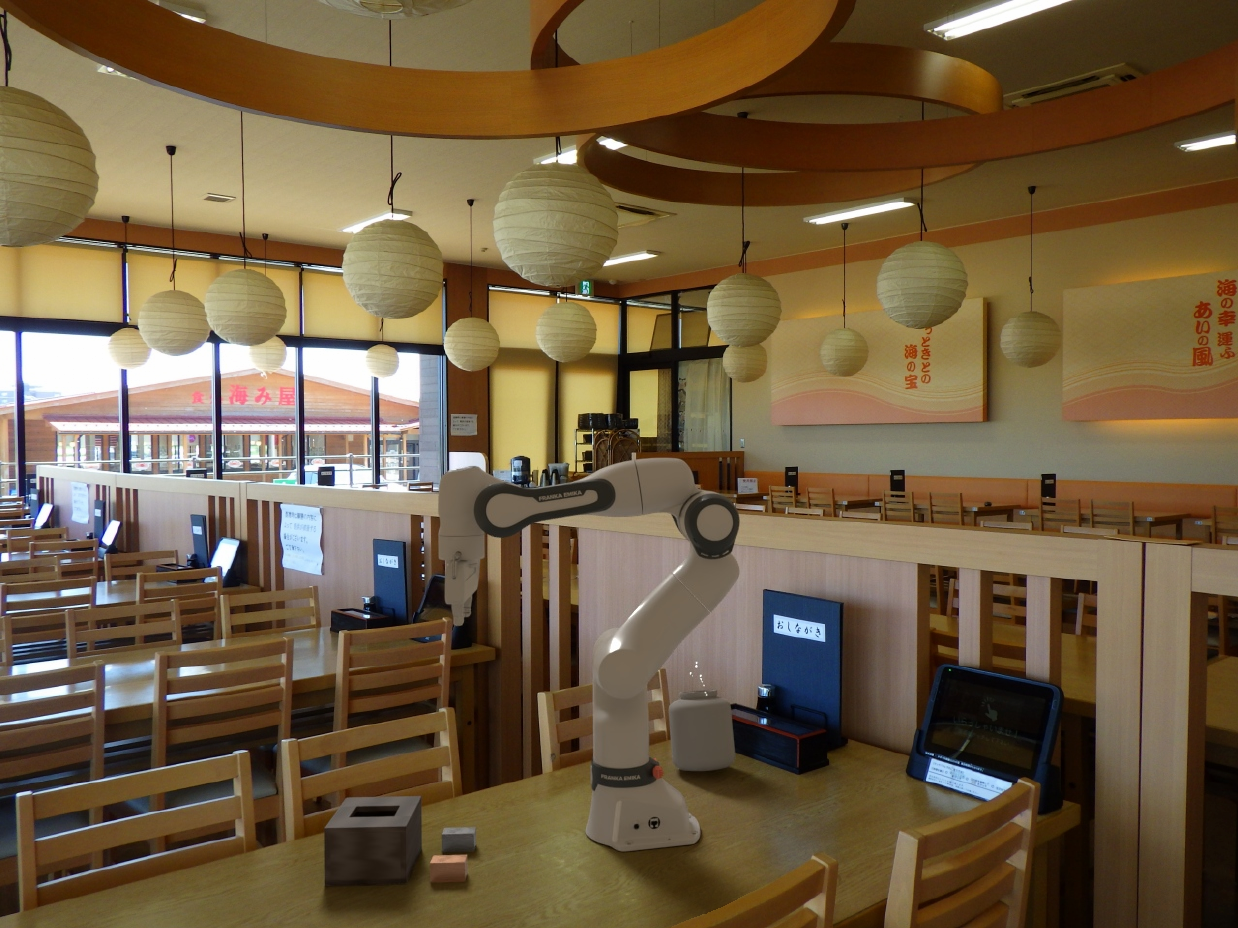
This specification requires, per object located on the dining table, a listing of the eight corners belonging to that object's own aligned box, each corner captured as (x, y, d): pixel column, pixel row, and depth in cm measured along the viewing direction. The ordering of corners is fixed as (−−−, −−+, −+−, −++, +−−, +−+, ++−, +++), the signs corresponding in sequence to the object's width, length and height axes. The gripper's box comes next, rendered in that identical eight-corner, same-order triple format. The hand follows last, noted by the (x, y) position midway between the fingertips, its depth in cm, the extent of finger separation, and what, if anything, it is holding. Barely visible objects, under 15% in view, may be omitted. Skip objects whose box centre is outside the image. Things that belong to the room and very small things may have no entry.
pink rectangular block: (467, 874, 157) (467, 854, 157) (465, 882, 154) (464, 862, 154) (433, 875, 156) (433, 855, 156) (430, 883, 153) (430, 862, 153)
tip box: (421, 848, 167) (421, 795, 167) (406, 883, 153) (406, 826, 153) (346, 850, 166) (346, 797, 166) (324, 885, 152) (324, 827, 152)
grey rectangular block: (476, 845, 169) (475, 826, 169) (473, 852, 166) (473, 833, 166) (444, 845, 168) (444, 827, 168) (441, 852, 165) (441, 834, 165)
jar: (657, 759, 217) (656, 657, 217) (713, 753, 221) (712, 653, 221) (686, 785, 199) (685, 674, 199) (745, 778, 203) (745, 669, 203)
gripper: (470, 554, 162) (471, 630, 162) (484, 544, 182) (484, 611, 182) (436, 555, 162) (436, 630, 162) (453, 545, 182) (454, 612, 182)
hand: (462, 620), depth 172 cm, fingers open, 8 cm apart
